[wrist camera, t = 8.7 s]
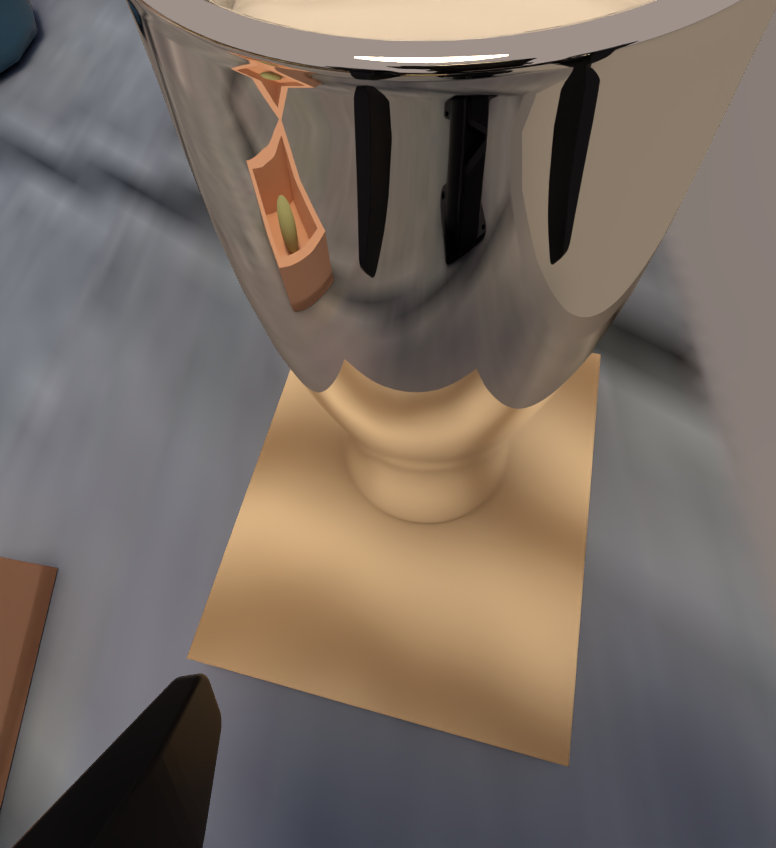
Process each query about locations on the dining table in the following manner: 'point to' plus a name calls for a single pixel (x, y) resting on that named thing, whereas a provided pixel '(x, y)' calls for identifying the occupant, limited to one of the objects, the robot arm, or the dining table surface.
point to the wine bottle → (15, 30)
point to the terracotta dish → (19, 645)
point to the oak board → (414, 582)
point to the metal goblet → (442, 197)
